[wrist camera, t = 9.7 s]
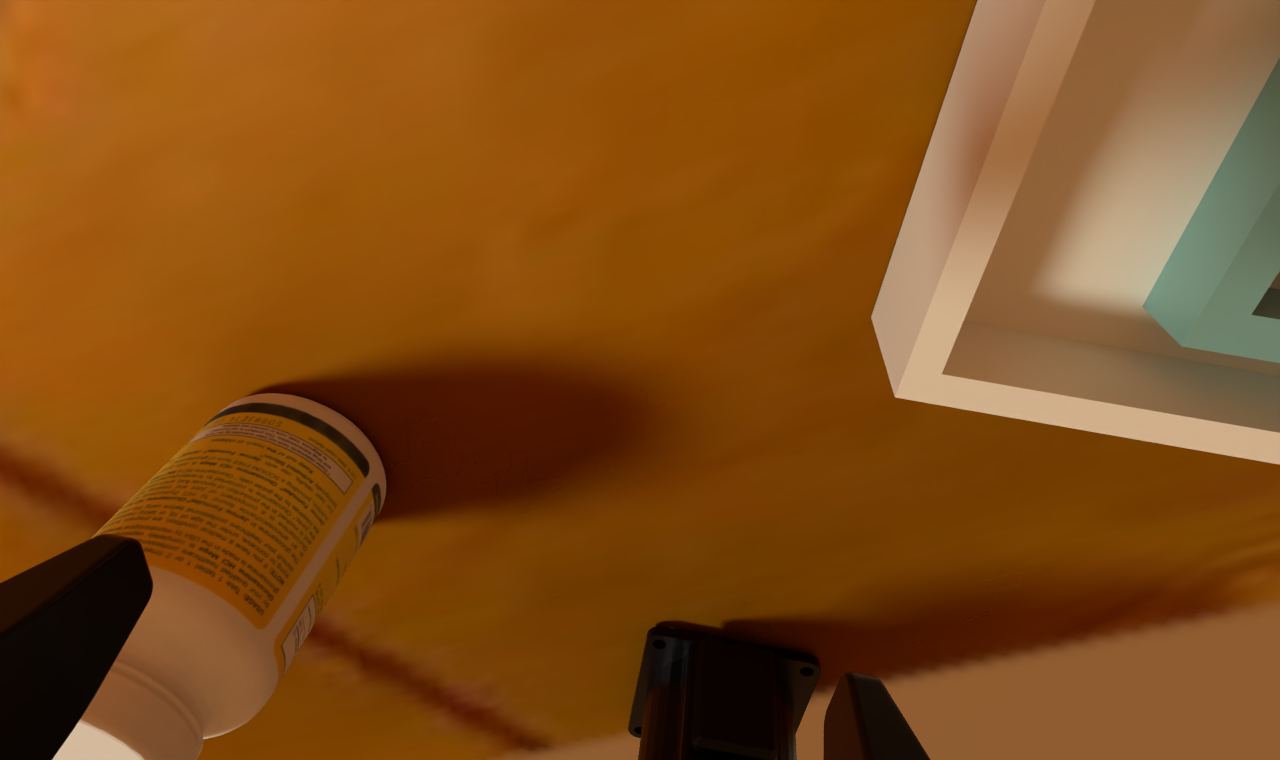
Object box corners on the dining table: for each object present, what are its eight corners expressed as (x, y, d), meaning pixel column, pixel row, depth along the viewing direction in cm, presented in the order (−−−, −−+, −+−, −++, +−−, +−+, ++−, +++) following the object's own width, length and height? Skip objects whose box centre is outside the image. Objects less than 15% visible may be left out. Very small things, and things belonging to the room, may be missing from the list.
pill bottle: (185, 393, 25) (-142, 678, 16) (353, 377, 24) (106, 675, 15) (263, 532, 28) (29, 837, 19) (416, 524, 27) (245, 846, 18)
